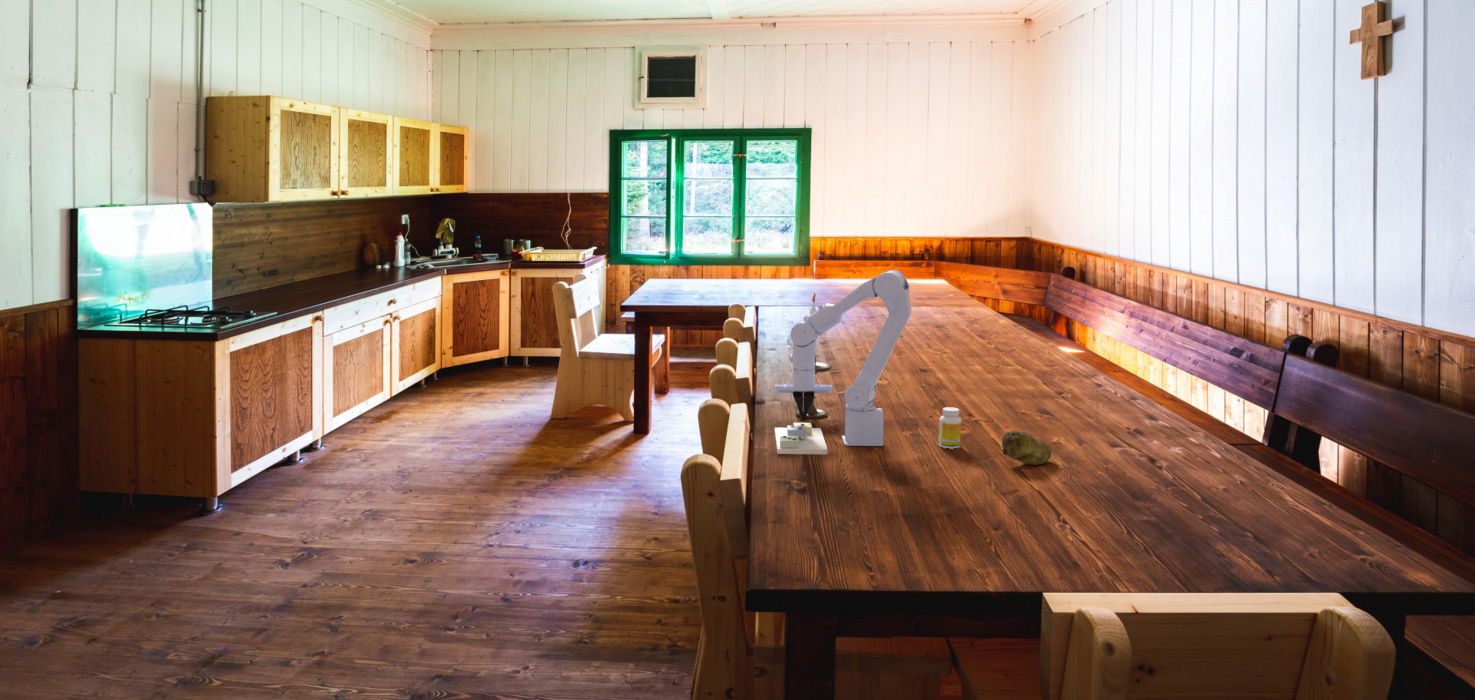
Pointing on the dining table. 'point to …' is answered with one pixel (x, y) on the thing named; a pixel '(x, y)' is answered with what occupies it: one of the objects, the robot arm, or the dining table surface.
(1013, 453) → the potato
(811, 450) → the panel
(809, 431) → the tile one
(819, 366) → the candlestick
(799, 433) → the tile two
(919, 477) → the dining table surface
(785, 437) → the tile three
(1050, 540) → the dining table surface
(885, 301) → the robot arm
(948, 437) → the supplement bottle
